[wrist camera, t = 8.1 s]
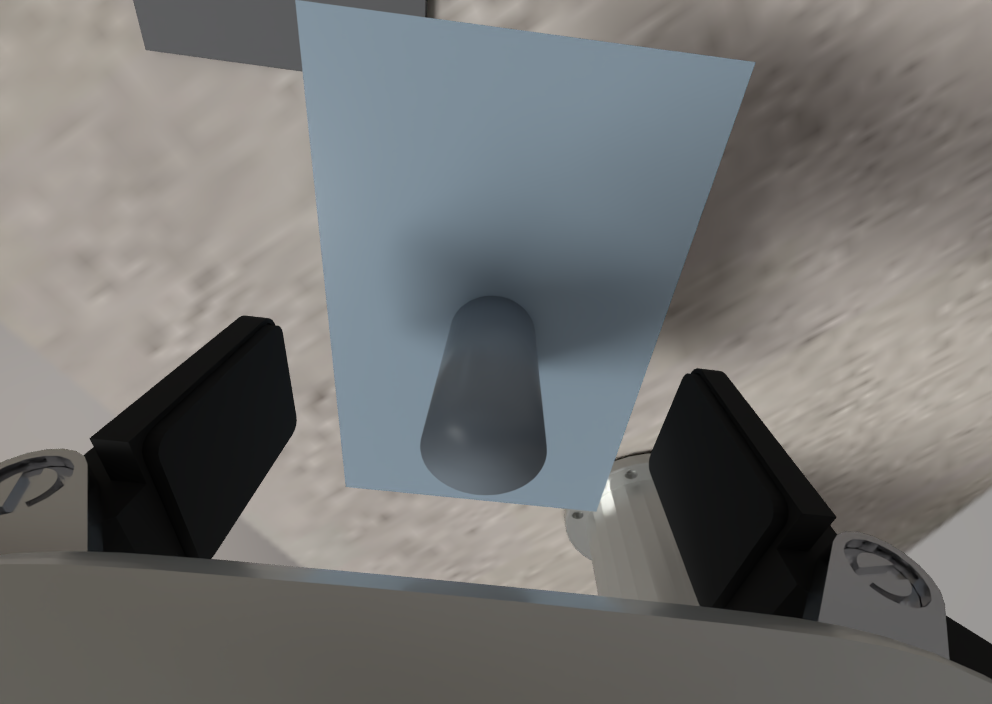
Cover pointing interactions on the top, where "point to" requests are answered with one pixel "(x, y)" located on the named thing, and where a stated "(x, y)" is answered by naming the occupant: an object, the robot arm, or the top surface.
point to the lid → (500, 241)
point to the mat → (241, 27)
